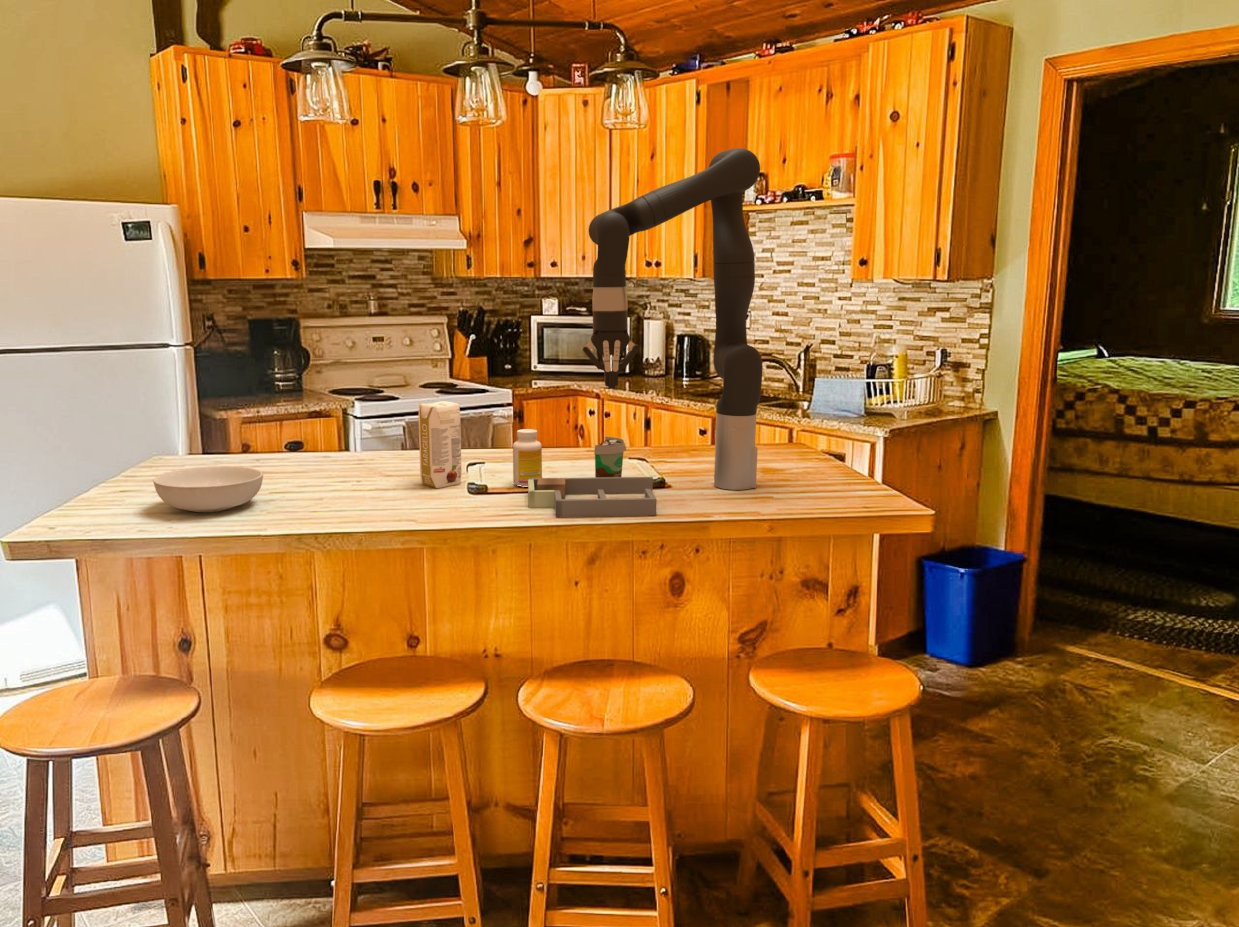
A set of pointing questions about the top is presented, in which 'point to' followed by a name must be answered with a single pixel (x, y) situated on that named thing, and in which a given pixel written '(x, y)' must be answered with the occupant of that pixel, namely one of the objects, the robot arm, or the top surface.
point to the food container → (609, 457)
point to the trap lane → (601, 504)
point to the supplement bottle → (526, 457)
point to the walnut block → (552, 485)
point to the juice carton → (440, 444)
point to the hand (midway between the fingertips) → (611, 388)
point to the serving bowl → (208, 487)
